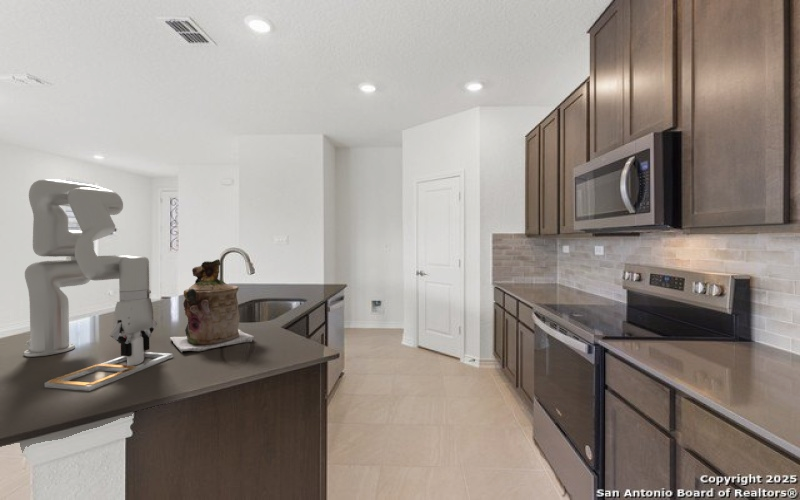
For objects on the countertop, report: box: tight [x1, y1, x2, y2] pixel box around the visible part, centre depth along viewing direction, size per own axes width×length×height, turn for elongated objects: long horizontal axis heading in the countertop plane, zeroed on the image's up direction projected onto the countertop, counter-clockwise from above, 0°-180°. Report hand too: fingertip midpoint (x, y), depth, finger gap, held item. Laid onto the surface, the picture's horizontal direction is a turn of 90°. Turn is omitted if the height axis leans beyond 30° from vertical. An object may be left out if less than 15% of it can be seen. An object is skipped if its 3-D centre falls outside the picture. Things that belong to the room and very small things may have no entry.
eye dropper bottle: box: [126, 331, 145, 366], centre depth 109 cm, size 4×6×12 cm
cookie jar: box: [169, 258, 255, 353], centre depth 133 cm, size 25×25×32 cm
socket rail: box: [44, 351, 174, 392], centre depth 103 cm, size 14×26×1 cm, turn 171°
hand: (135, 352), depth 109 cm, fingers closed on eye dropper bottle, 5 cm apart
